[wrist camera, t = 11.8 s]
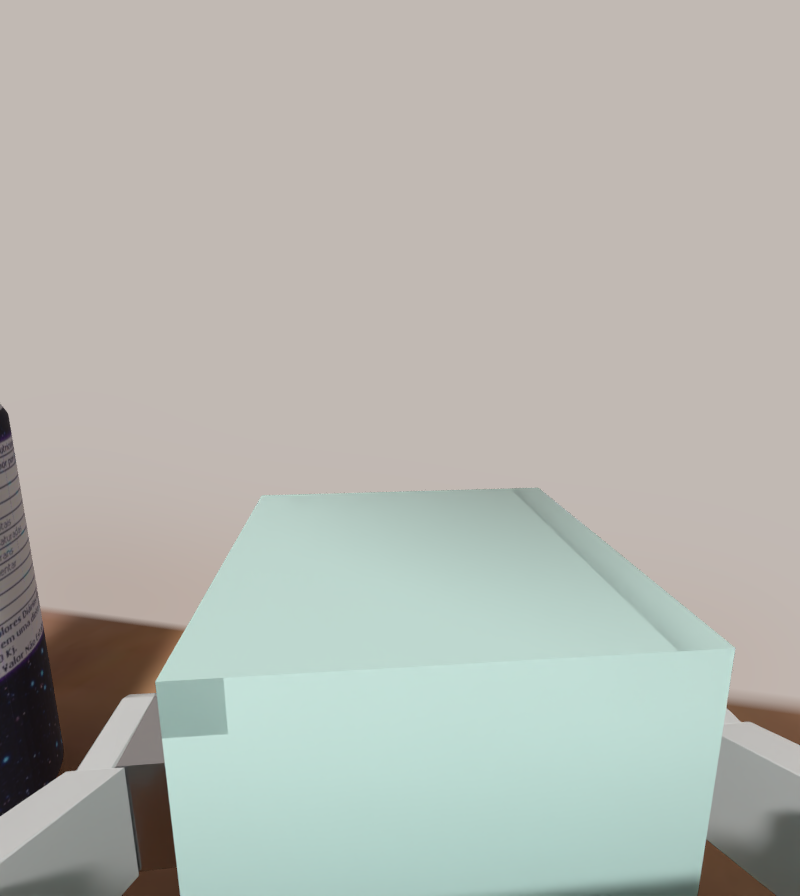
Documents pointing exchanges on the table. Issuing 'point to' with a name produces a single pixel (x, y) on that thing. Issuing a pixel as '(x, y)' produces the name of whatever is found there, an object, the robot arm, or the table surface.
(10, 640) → the beverage can
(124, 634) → the table surface
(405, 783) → the mint green lidded box
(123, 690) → the table surface
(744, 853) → the robot arm
